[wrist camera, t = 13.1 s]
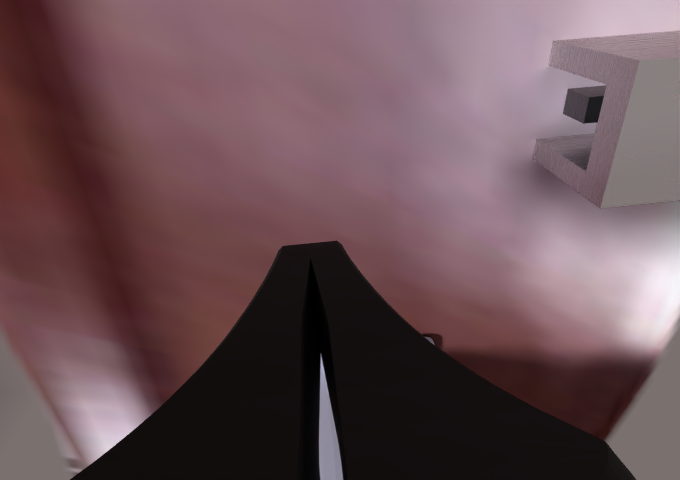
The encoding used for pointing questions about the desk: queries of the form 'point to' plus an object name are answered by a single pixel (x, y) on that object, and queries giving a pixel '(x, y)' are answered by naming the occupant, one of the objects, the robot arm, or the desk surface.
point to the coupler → (584, 103)
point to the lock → (622, 120)
